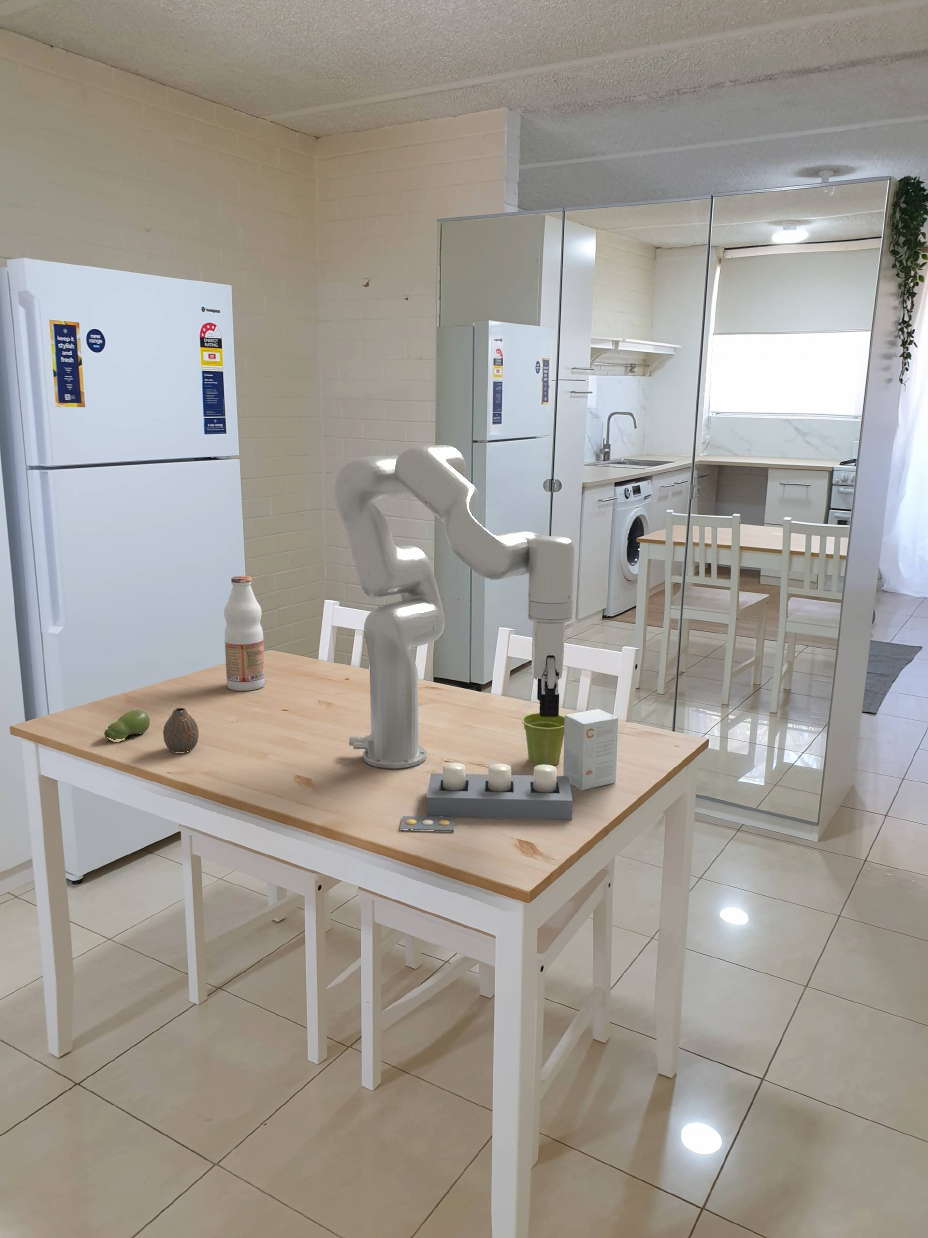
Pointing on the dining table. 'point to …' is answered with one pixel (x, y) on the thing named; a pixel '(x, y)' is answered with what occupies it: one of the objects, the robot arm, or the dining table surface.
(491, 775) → the button mid
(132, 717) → the pear
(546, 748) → the plant pot
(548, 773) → the button right
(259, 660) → the fruit juice
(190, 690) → the dining table surface
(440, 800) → the board
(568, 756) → the small box
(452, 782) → the button left
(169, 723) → the vase
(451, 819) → the pattern tile
